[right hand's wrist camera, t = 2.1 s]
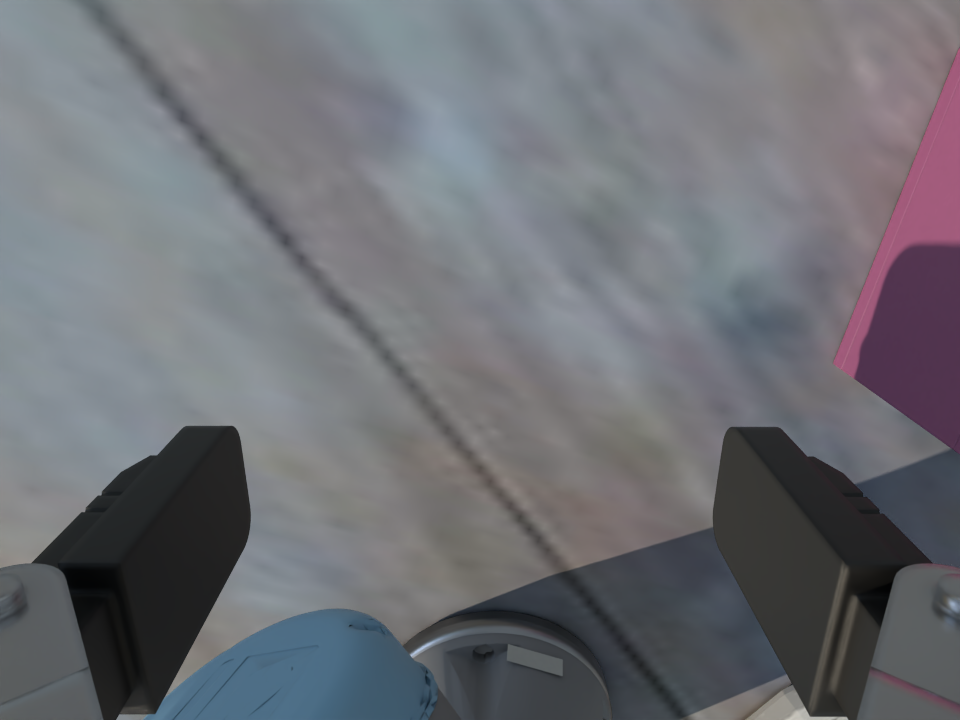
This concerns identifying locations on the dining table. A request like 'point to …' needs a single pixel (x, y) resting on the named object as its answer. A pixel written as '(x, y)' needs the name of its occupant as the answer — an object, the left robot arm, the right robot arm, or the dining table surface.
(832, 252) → the dining table surface
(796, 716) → the wall clock
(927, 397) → the magenta rectangular box
